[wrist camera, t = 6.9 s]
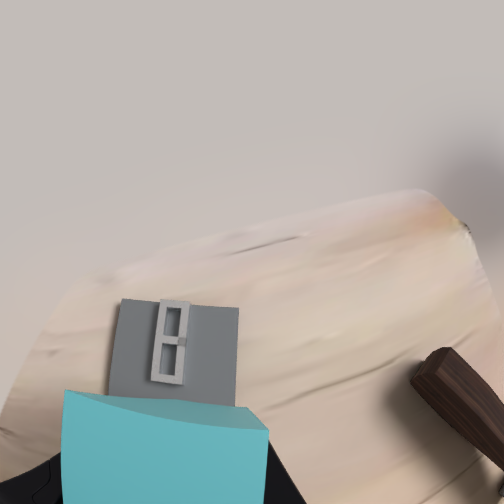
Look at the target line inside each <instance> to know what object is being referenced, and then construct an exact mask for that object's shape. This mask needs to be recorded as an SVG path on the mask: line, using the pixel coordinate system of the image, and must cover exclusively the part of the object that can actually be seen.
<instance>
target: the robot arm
mask: <svg viewBox="0 0 504 504" xmlns="http://www.w3.org/2000/svg"><path fill="white" fill-rule="evenodd" d="M0 504H63V493H62V478H61V452H60V453H58V454H57V455H55V456H53V457H52V458H50V460H47V461H45V462H44V463H42V464H41V465H39V466H37V467H35V468H34V469H32V470H30V471H28V472H26V473H23V474H21V475H19V476H16V477H14V478H11V479H9V480H6V481H4V482H1V483H0ZM263 504H307V503H306V502H305V500H304V499H303V497H302V495H301V494H300V492H299V491H298V489H297V487H296V486H295V484H294V483H293V481H292V479H291V478H290V476H289V474H288V473H287V471H286V469H285V468H284V466H283V464H282V462H281V461H280V459H279V457H278V456H277V454H276V452H275V450H274V448H273V447H272V445H271V443H270V441H269V440H268V453H267V466H266V478H265V489H264V500H263Z"/></svg>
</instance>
